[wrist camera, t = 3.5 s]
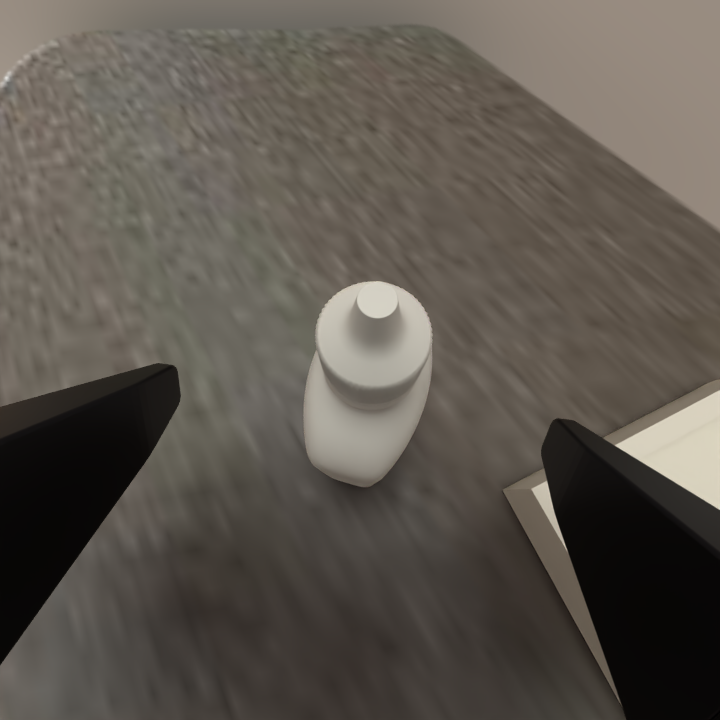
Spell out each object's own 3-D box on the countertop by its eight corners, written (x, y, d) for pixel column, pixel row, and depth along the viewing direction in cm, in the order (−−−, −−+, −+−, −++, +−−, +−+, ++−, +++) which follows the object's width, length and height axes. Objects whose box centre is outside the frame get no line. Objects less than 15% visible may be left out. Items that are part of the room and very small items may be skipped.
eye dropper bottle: (440, 412, 18) (580, 276, 7) (355, 503, 17) (351, 527, 5) (373, 350, 19) (396, 140, 8) (287, 432, 18) (162, 324, 6)
